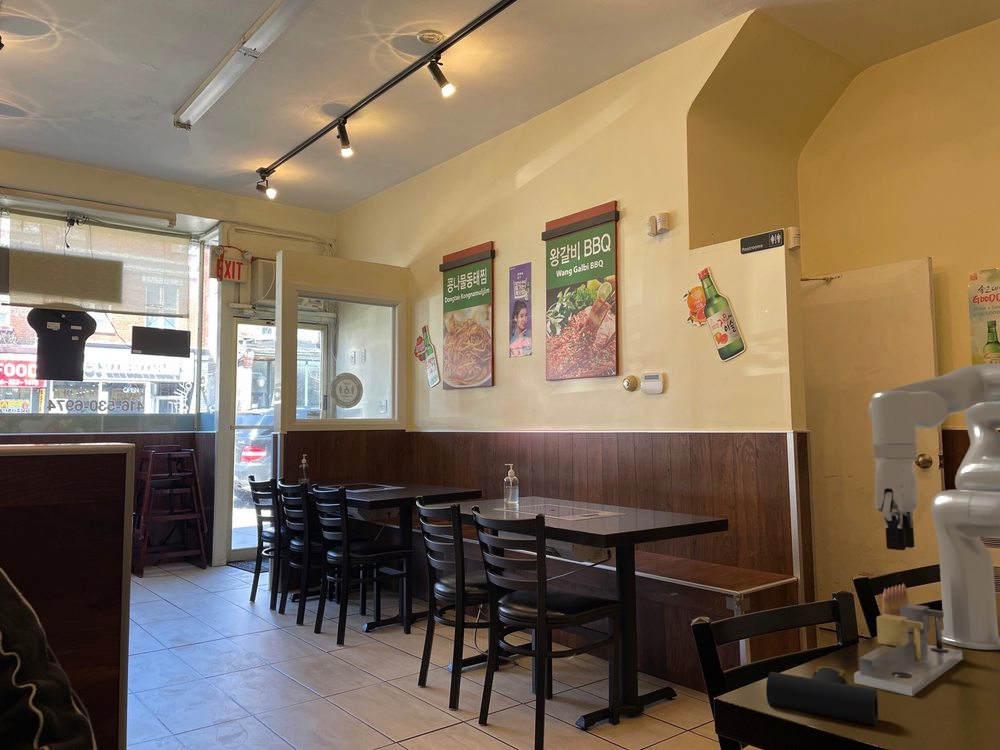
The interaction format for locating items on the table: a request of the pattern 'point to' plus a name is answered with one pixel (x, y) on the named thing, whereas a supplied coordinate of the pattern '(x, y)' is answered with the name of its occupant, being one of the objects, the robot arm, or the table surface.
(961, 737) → the table surface
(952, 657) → the bolt plate
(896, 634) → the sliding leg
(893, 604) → the ammunition clip
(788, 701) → the pipe connector
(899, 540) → the robot arm
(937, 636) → the fixed leg
